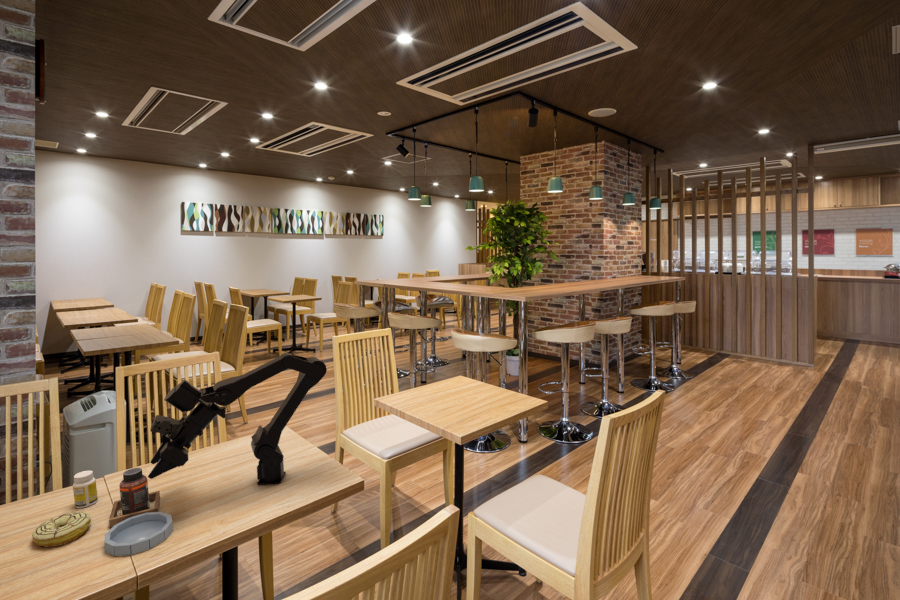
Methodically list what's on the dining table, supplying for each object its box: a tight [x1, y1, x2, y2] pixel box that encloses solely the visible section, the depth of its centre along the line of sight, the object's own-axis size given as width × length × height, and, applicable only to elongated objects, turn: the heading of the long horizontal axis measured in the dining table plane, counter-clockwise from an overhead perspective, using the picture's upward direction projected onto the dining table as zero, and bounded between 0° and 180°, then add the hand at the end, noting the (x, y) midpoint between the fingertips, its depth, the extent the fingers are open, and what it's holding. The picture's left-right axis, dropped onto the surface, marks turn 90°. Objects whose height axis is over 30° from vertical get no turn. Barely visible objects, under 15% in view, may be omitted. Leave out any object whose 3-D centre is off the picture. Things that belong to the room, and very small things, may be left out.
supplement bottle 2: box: [118, 467, 151, 516], centre depth 116 cm, size 6×6×11 cm
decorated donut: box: [31, 511, 92, 547], centre depth 107 cm, size 10×11×4 cm
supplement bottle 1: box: [72, 470, 99, 509], centre depth 120 cm, size 5×5×8 cm
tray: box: [108, 490, 161, 530], centre depth 116 cm, size 10×10×2 cm
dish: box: [103, 511, 174, 557], centre depth 106 cm, size 13×13×2 cm
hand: (150, 470), depth 117 cm, fingers open, 9 cm apart
